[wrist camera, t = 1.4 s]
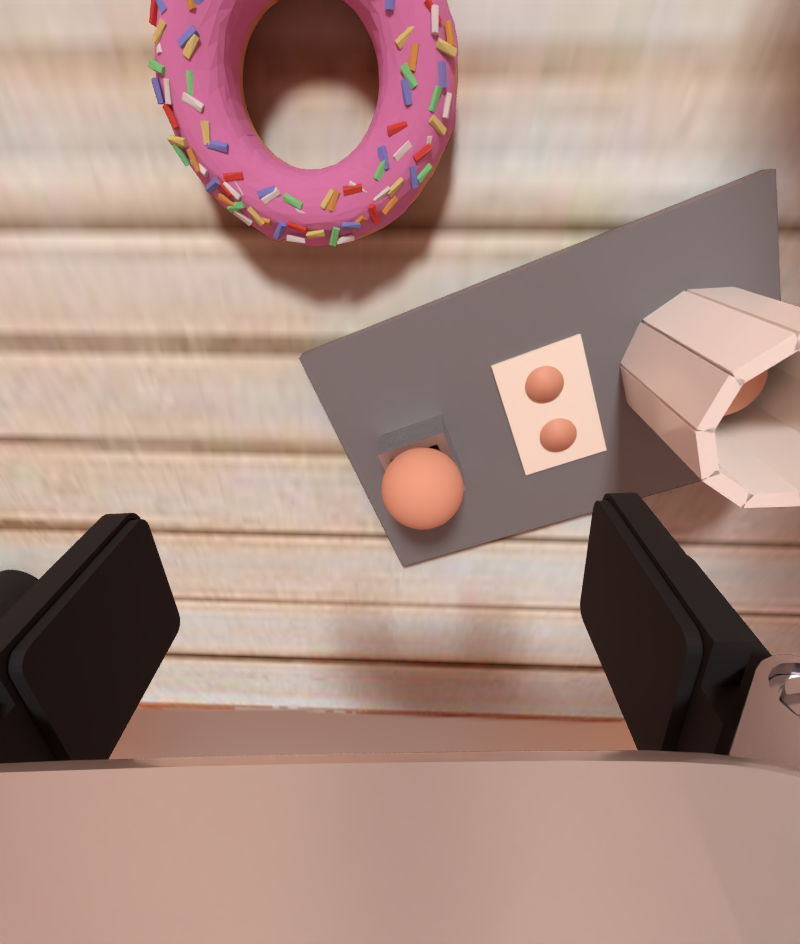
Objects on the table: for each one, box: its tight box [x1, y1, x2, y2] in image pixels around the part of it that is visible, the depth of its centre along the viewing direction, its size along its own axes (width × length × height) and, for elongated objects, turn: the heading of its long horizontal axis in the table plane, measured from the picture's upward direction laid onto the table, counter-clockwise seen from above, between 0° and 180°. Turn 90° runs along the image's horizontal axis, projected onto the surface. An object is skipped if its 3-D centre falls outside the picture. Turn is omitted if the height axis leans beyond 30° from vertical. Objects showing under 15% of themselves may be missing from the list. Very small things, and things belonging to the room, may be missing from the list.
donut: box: [149, 0, 458, 247], centre depth 25 cm, size 14×14×5 cm
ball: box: [381, 447, 464, 530], centre depth 31 cm, size 5×5×5 cm
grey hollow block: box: [378, 414, 466, 491], centre depth 34 cm, size 4×4×3 cm
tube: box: [620, 287, 800, 508], centre depth 27 cm, size 9×9×10 cm
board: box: [299, 169, 781, 566], centre depth 34 cm, size 28×18×2 cm, turn 112°
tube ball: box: [724, 369, 768, 416], centre depth 29 cm, size 5×5×5 cm
